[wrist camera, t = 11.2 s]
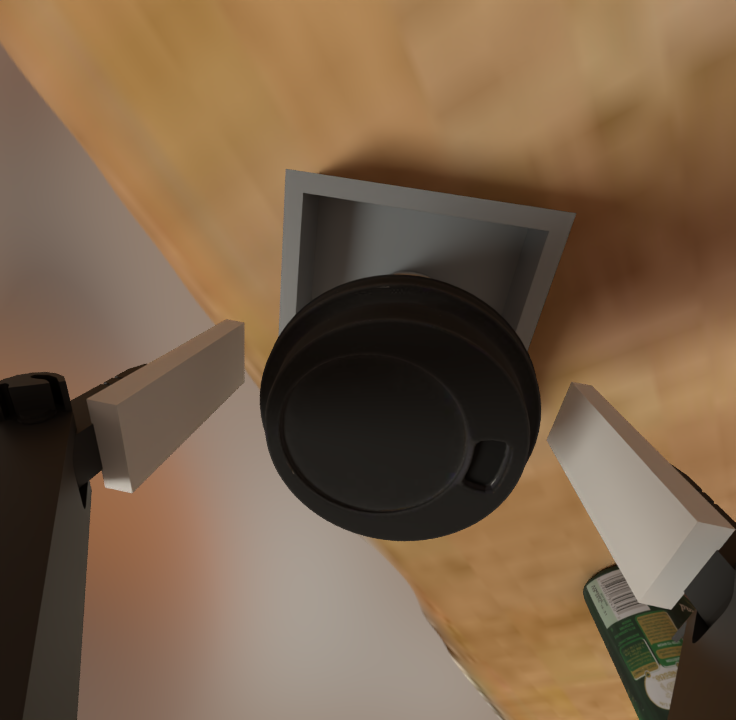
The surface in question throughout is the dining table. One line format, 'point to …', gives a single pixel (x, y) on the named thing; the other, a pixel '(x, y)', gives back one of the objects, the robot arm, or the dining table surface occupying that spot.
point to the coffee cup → (400, 407)
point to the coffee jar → (638, 640)
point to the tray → (418, 243)
